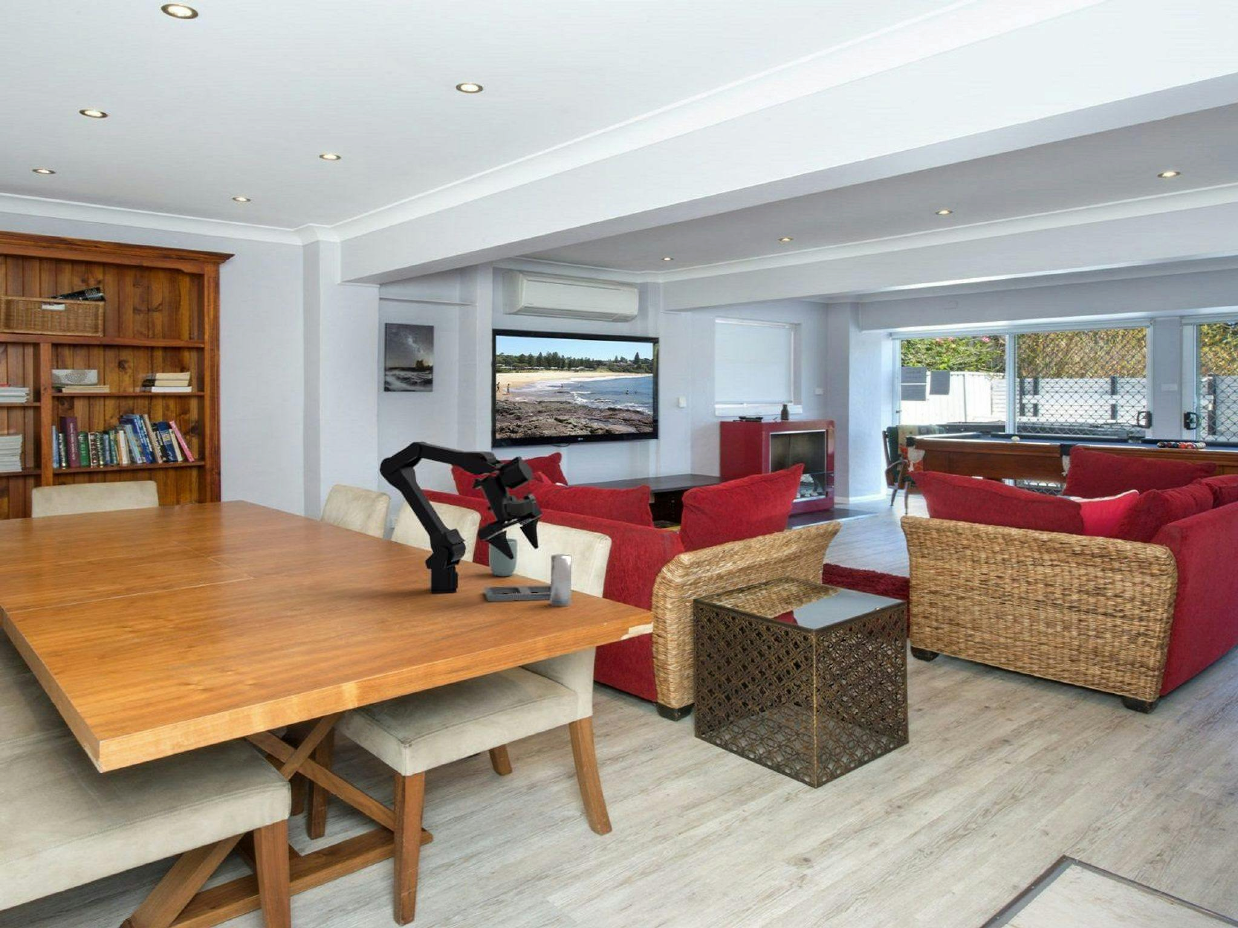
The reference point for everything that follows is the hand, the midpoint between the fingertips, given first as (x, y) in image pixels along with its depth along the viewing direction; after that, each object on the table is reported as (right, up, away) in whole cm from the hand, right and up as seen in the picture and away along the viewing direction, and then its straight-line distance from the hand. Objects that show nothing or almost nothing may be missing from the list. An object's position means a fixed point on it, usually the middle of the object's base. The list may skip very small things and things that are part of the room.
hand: (524, 553), depth 224 cm
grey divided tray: (0, -11, +4) cm, 12 cm away
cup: (-9, -9, +30) cm, 33 cm away
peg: (+9, -12, -4) cm, 16 cm away
